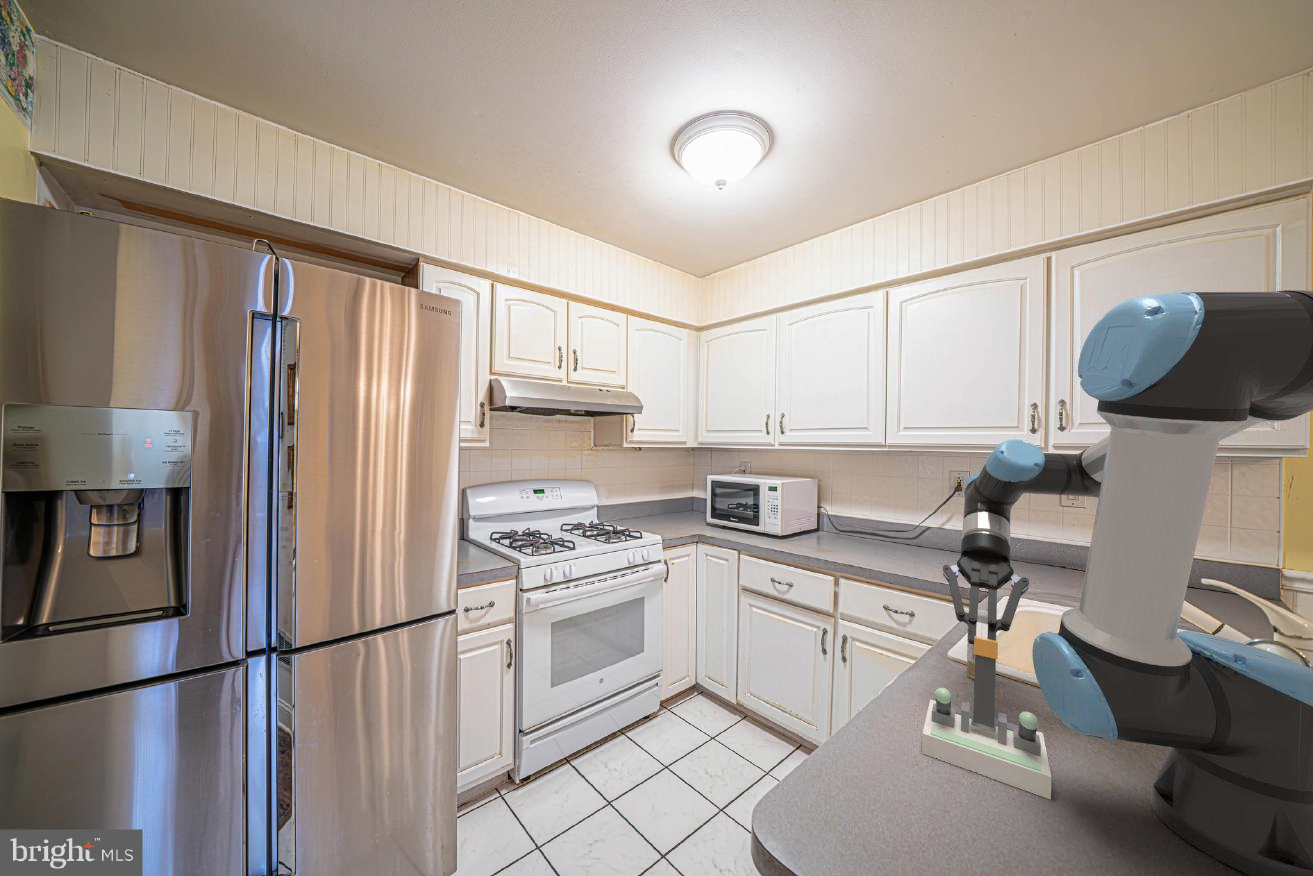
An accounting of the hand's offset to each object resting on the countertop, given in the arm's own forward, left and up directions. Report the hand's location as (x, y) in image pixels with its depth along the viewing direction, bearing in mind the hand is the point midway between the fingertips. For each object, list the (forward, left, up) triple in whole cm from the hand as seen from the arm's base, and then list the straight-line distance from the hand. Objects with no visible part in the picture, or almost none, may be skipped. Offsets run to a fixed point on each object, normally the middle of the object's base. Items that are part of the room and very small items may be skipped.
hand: (980, 664), depth 75 cm
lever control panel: (-3, +3, -12) cm, 12 cm away
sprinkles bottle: (+14, -20, -12) cm, 27 cm away
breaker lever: (-3, +3, -7) cm, 8 cm away
